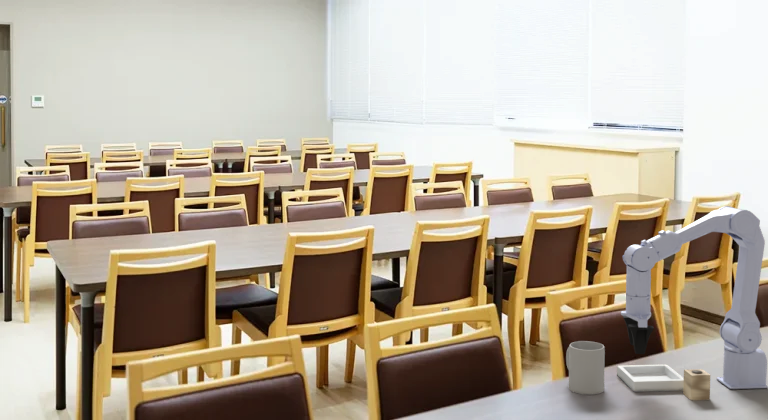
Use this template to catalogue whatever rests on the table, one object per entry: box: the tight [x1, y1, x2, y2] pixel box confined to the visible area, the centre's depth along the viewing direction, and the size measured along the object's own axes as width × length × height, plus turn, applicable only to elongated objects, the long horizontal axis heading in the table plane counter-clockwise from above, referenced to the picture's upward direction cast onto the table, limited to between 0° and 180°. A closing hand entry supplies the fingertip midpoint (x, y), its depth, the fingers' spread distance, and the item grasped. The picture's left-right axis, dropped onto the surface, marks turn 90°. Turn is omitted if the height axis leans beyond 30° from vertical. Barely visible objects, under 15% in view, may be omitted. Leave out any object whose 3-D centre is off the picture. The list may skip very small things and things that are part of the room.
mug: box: [565, 340, 606, 396], centre depth 206 cm, size 12×8×11 cm
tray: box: [616, 364, 684, 393], centre depth 210 cm, size 13×13×2 cm
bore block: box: [682, 368, 711, 401], centre depth 199 cm, size 4×4×6 cm
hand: (637, 349), depth 204 cm, fingers open, 7 cm apart
